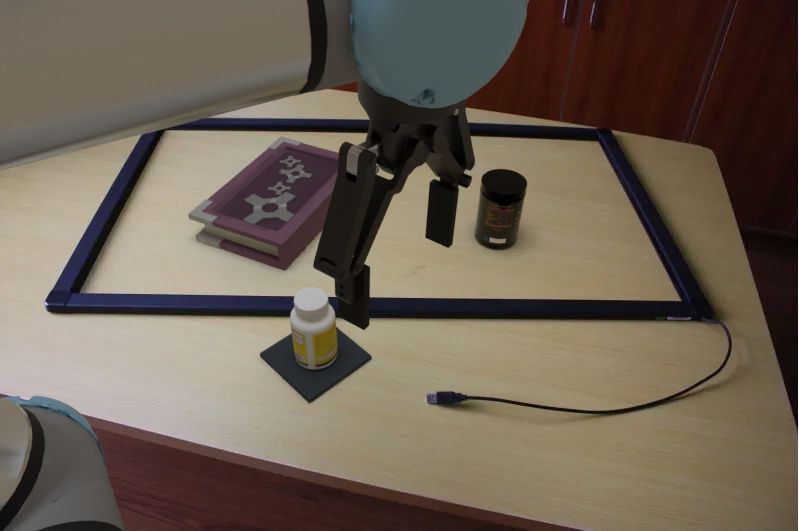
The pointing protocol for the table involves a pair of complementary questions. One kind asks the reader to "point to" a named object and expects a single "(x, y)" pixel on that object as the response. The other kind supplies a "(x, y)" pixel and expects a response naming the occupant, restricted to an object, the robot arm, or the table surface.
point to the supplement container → (500, 207)
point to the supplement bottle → (313, 329)
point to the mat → (315, 380)
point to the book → (271, 204)
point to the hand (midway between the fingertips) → (399, 278)
